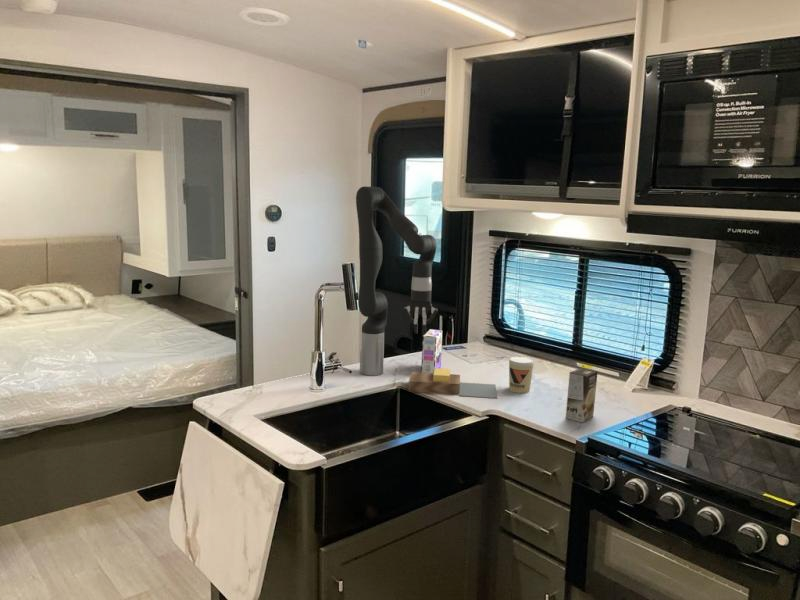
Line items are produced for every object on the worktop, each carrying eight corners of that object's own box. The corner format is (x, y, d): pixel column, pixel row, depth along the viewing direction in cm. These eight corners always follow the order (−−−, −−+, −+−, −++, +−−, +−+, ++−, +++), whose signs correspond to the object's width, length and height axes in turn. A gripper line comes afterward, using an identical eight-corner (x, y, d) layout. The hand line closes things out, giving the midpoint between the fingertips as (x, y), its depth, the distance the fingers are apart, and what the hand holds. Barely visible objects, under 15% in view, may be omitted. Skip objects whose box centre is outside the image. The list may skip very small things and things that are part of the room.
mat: (459, 396, 227) (459, 395, 227) (459, 383, 243) (459, 382, 243) (497, 398, 226) (497, 397, 226) (495, 385, 242) (495, 384, 242)
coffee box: (583, 423, 204) (587, 376, 202) (565, 418, 208) (568, 372, 206) (594, 416, 211) (598, 370, 209) (576, 411, 215) (580, 367, 213)
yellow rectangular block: (433, 381, 231) (433, 374, 231) (434, 374, 240) (434, 368, 240) (449, 382, 231) (449, 375, 230) (449, 375, 239) (450, 369, 239)
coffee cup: (503, 391, 235) (505, 360, 233) (511, 384, 243) (513, 355, 241) (527, 395, 231) (530, 364, 229) (534, 388, 239) (536, 358, 237)
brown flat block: (408, 391, 231) (408, 381, 231) (411, 381, 243) (411, 371, 242) (459, 394, 229) (459, 384, 229) (459, 384, 241) (460, 374, 240)
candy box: (434, 375, 252) (436, 336, 249) (420, 374, 253) (422, 335, 250) (441, 367, 265) (443, 329, 262) (428, 365, 266) (429, 328, 263)
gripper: (402, 289, 227) (400, 335, 230) (439, 291, 226) (437, 337, 229) (404, 286, 234) (402, 330, 237) (440, 287, 233) (438, 332, 236)
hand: (419, 333), depth 233 cm, fingers closed
